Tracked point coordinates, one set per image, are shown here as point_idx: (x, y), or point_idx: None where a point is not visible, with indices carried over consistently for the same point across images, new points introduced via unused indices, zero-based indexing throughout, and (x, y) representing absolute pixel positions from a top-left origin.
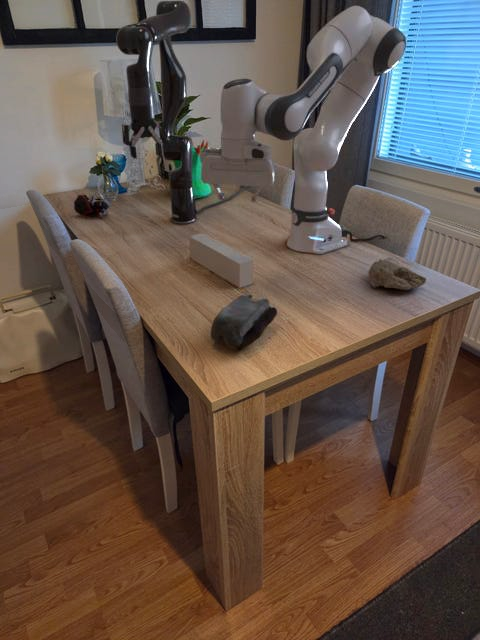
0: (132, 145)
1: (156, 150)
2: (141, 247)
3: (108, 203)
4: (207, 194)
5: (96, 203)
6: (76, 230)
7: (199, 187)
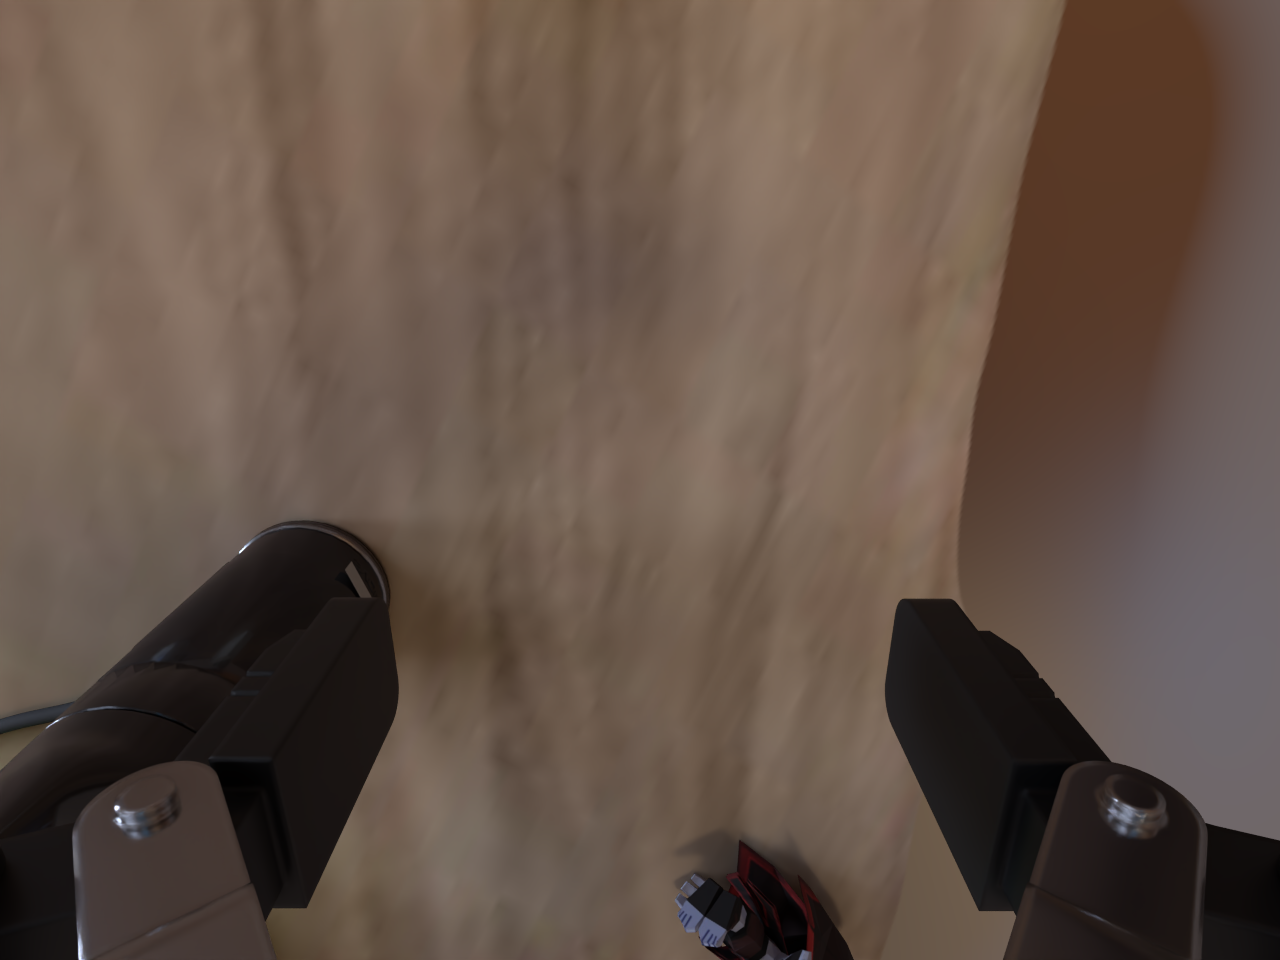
0: (1152, 790)
1: (364, 736)
2: (748, 312)
3: (689, 917)
4: None
5: (760, 936)
6: None
7: None
